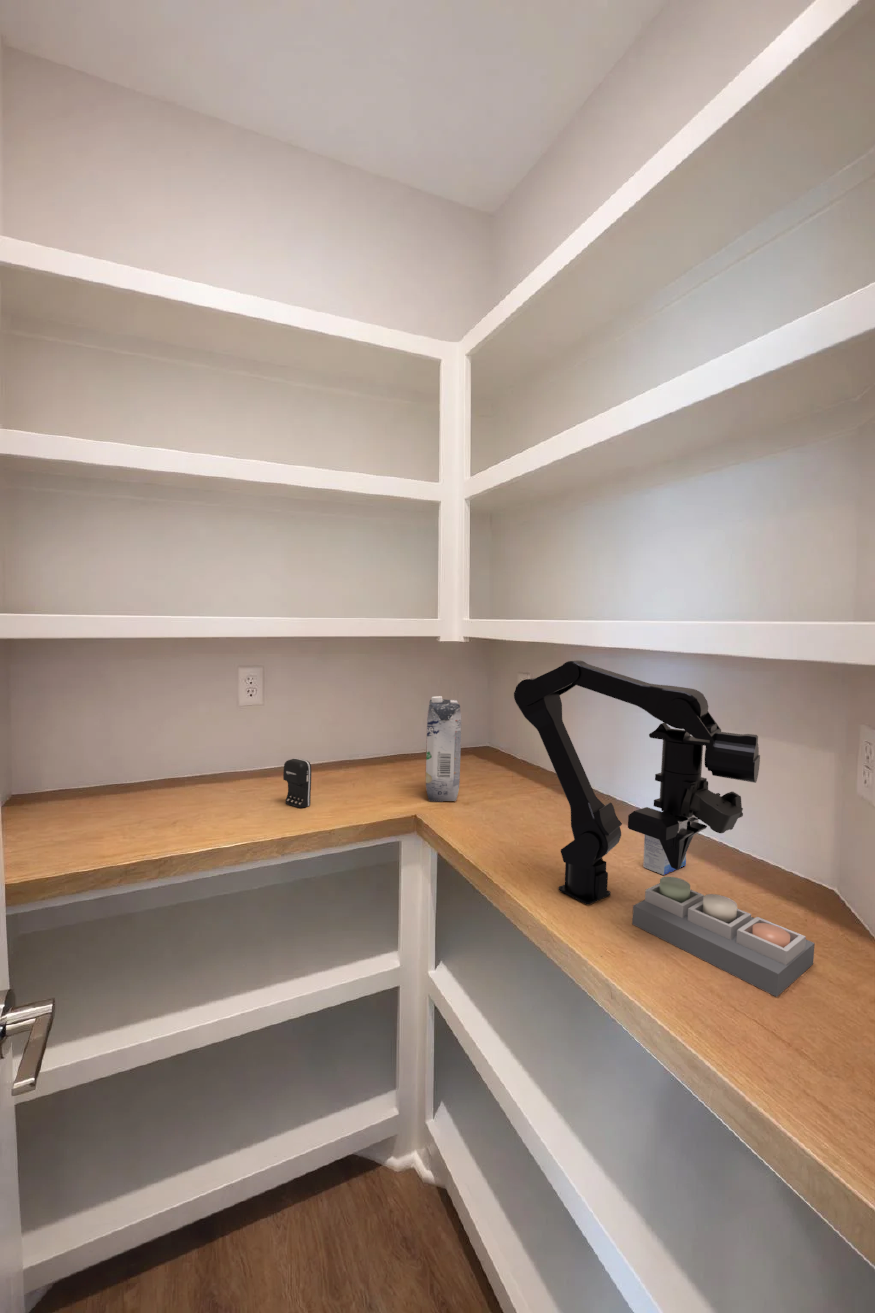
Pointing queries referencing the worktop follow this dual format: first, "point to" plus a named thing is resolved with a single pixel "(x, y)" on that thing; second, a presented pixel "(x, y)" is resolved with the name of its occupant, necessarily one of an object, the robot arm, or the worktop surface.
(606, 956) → the worktop surface
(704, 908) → the cream button
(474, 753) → the worktop surface
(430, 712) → the juice carton
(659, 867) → the medicine box
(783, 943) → the terracotta button
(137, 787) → the worktop surface
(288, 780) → the battery charger
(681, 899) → the sage button
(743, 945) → the grey button panel
